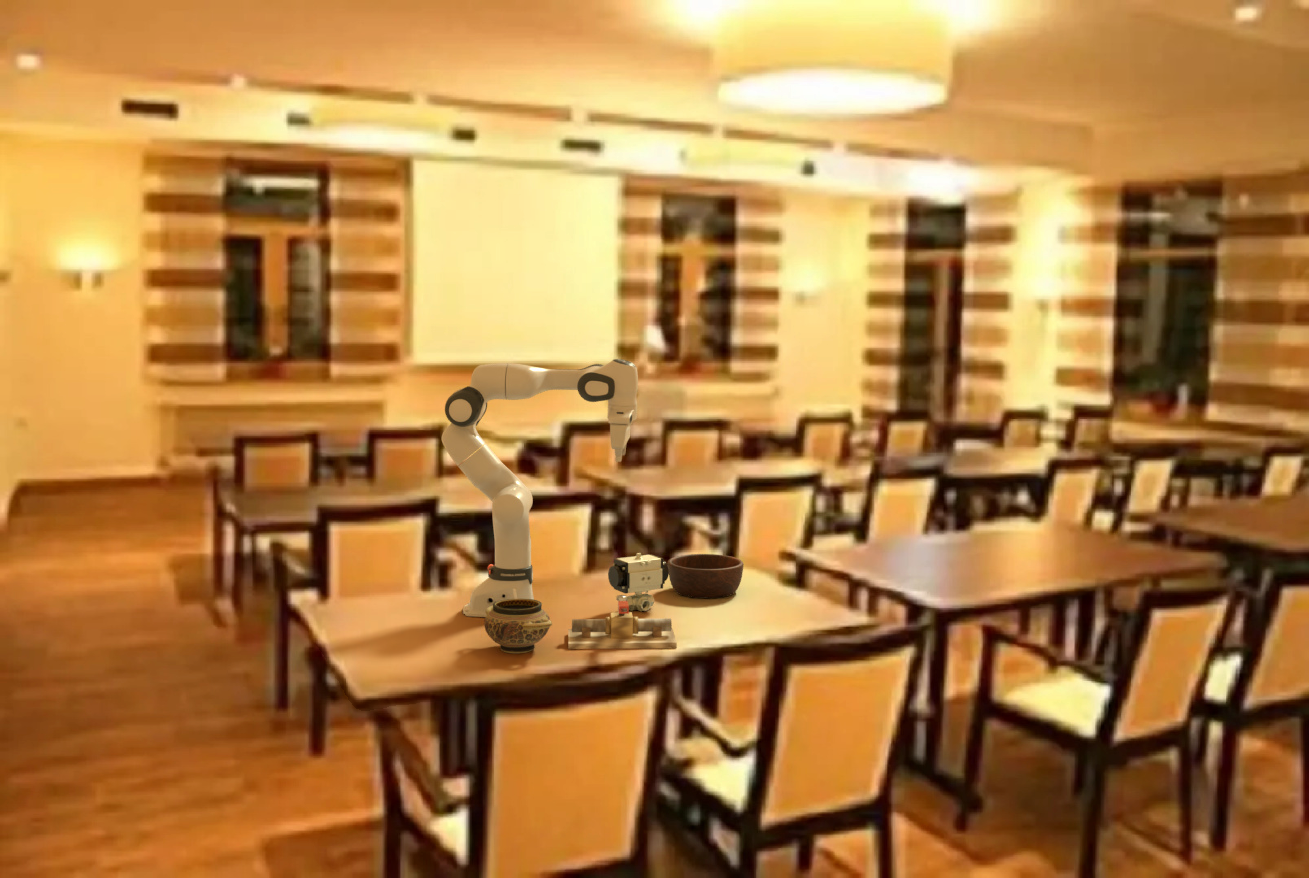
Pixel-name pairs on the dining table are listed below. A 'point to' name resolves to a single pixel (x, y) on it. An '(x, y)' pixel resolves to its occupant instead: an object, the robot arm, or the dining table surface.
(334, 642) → the dining table surface
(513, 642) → the ceramic bowl
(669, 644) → the pipe board
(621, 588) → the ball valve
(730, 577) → the wooden bowl
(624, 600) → the valve lever
